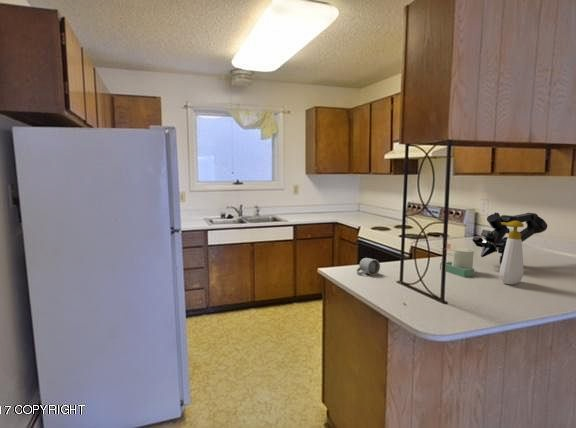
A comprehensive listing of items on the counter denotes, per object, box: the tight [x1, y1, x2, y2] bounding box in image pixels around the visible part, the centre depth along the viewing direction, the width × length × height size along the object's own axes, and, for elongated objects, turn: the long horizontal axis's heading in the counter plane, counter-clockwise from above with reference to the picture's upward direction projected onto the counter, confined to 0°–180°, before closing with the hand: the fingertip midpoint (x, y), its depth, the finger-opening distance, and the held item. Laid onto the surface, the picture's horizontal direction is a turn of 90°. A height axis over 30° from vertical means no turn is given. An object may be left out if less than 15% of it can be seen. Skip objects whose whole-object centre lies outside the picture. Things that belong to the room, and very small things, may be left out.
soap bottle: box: [499, 221, 525, 286], centre depth 162 cm, size 13×10×29 cm
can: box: [452, 247, 475, 269], centre depth 180 cm, size 9×9×12 cm
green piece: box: [439, 243, 475, 278], centre depth 178 cm, size 6×15×14 cm, turn 22°
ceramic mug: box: [356, 257, 381, 276], centre depth 176 cm, size 11×8×8 cm
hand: (481, 256), depth 185 cm, fingers closed
